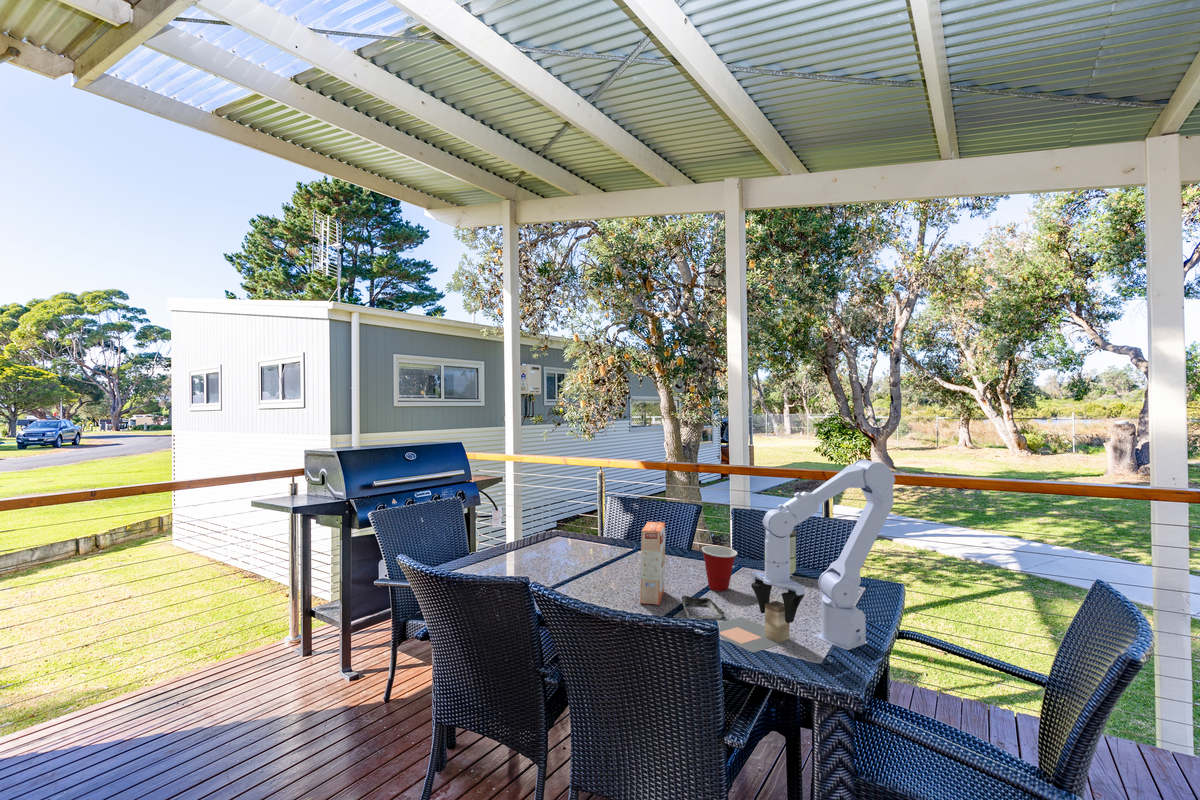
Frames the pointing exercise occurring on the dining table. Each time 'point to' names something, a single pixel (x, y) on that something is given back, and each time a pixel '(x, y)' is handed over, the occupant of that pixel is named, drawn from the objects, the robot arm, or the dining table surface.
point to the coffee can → (791, 551)
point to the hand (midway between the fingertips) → (776, 617)
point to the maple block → (776, 622)
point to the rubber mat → (747, 634)
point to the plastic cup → (718, 566)
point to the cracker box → (652, 563)
